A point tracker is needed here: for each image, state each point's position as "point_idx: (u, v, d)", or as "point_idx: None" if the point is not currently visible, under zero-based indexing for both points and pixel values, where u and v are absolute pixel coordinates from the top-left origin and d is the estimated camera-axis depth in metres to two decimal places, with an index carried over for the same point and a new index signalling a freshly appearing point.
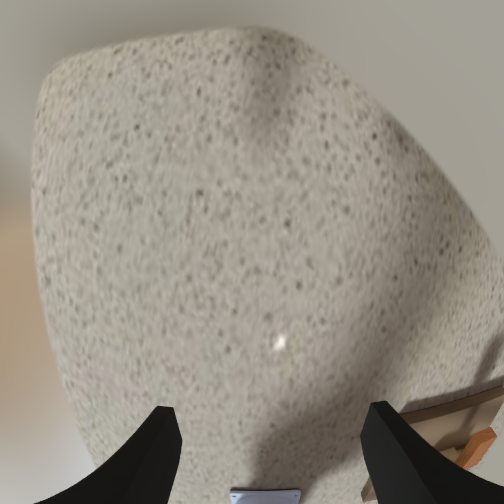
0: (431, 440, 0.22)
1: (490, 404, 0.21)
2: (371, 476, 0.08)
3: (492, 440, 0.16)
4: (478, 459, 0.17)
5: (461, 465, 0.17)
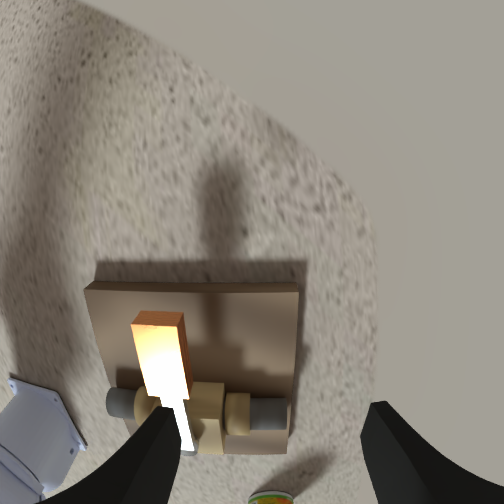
0: None
1: (255, 305, 0.18)
2: (371, 476, 0.08)
3: (169, 334, 0.13)
4: (176, 382, 0.14)
5: None
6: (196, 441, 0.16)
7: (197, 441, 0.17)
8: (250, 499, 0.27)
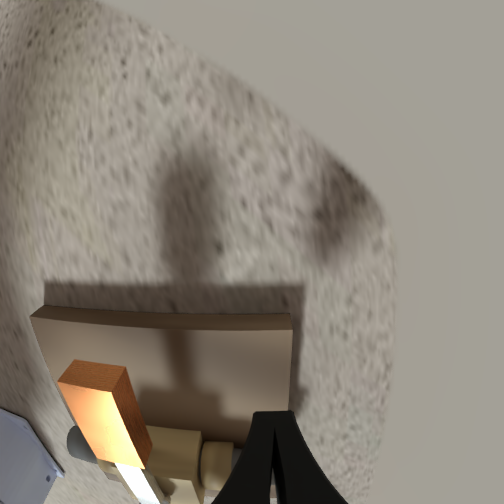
0: None
1: (234, 346, 0.13)
2: (275, 487, 0.08)
3: (104, 399, 0.08)
4: (126, 451, 0.09)
5: None
6: (167, 500, 0.11)
7: (168, 500, 0.12)
8: None
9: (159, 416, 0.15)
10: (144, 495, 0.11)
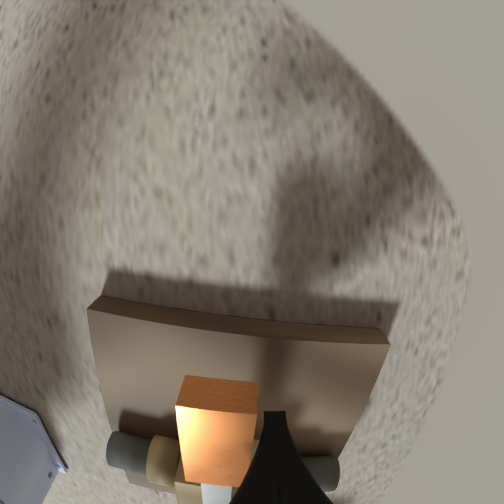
0: None
1: (335, 357, 0.13)
2: None
3: (242, 422, 0.07)
4: (234, 472, 0.08)
5: None
6: None
7: None
8: None
9: None
10: None
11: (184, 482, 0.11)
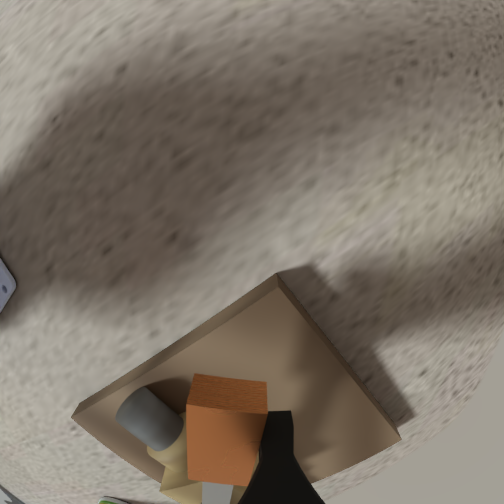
0: (268, 399, 0.14)
1: (377, 431, 0.15)
2: None
3: (252, 421, 0.08)
4: (238, 471, 0.08)
5: None
6: None
7: None
8: (109, 501, 0.20)
9: None
10: None
11: None
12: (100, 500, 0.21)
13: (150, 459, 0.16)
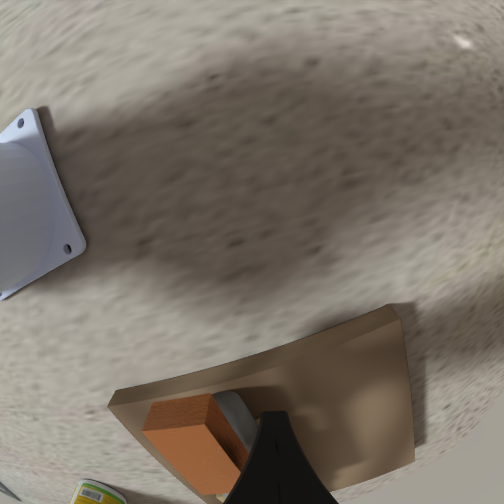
0: (342, 413, 0.14)
1: (403, 450, 0.15)
2: None
3: (199, 433, 0.08)
4: (232, 478, 0.09)
5: None
6: None
7: None
8: (94, 486, 0.19)
9: (316, 446, 0.15)
10: None
11: None
12: (83, 482, 0.20)
13: None
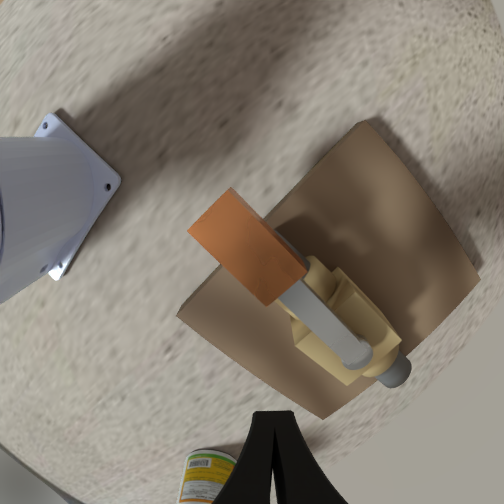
0: (374, 227, 0.17)
1: (460, 265, 0.17)
2: (275, 487, 0.08)
3: (228, 204, 0.11)
4: (279, 259, 0.12)
5: None
6: (362, 338, 0.14)
7: (363, 338, 0.14)
8: (200, 454, 0.24)
9: (372, 277, 0.17)
10: (337, 338, 0.13)
11: (360, 297, 0.14)
12: (188, 456, 0.24)
13: (264, 347, 0.19)
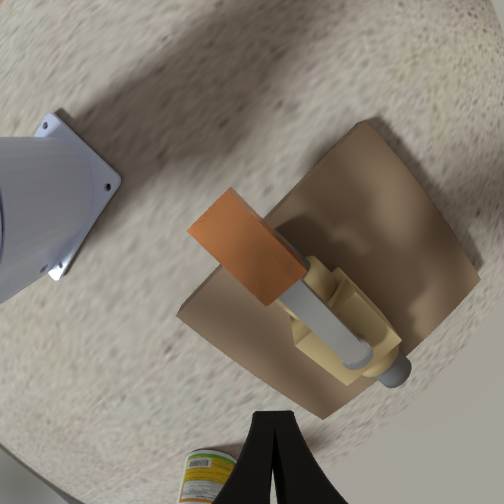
0: (374, 227, 0.17)
1: (460, 265, 0.17)
2: (275, 487, 0.08)
3: (228, 204, 0.11)
4: (279, 259, 0.12)
5: None
6: (362, 338, 0.14)
7: (363, 338, 0.14)
8: (200, 454, 0.24)
9: (372, 277, 0.17)
10: (337, 338, 0.13)
11: (360, 297, 0.14)
12: (188, 456, 0.24)
13: (264, 347, 0.19)
